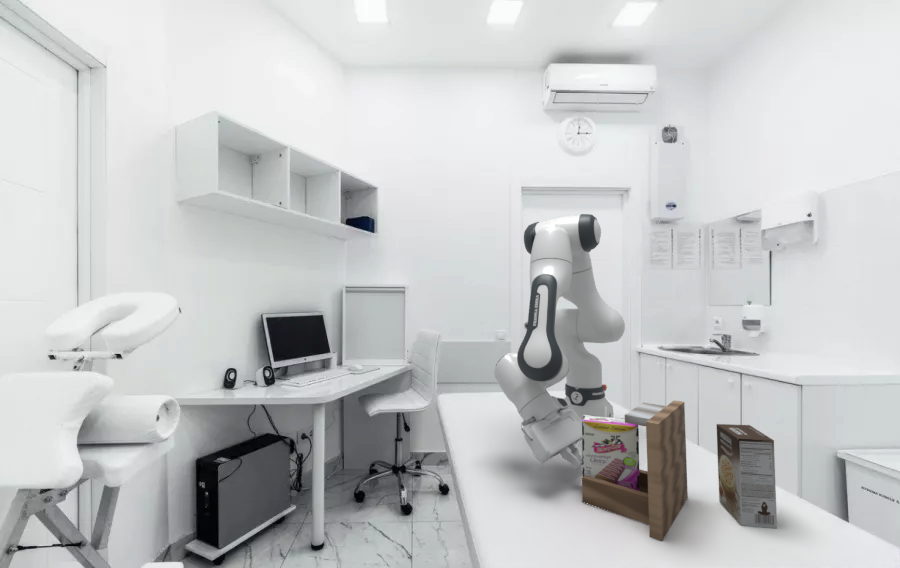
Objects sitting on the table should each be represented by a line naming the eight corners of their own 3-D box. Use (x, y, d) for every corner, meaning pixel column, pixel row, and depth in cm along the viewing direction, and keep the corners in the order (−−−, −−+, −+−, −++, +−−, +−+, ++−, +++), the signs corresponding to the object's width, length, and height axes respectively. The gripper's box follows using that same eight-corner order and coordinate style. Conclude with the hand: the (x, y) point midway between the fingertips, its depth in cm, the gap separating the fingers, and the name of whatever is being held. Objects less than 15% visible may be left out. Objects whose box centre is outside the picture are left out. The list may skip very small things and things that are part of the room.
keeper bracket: (610, 476, 95) (608, 391, 96) (687, 498, 84) (684, 401, 85) (573, 509, 80) (571, 408, 81) (662, 541, 69) (658, 424, 70)
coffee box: (717, 501, 82) (714, 422, 83) (752, 504, 81) (749, 424, 82) (740, 526, 73) (736, 437, 74) (780, 529, 72) (776, 439, 73)
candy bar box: (582, 499, 84) (580, 420, 85) (583, 488, 89) (582, 414, 89) (641, 509, 80) (639, 425, 80) (639, 497, 84) (637, 418, 85)
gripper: (526, 415, 87) (569, 473, 80) (568, 397, 102) (608, 446, 95) (509, 431, 90) (549, 489, 83) (553, 412, 105) (590, 460, 98)
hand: (581, 466), depth 89 cm, fingers closed
